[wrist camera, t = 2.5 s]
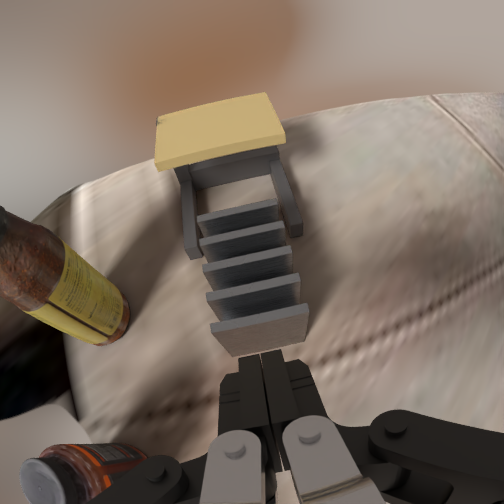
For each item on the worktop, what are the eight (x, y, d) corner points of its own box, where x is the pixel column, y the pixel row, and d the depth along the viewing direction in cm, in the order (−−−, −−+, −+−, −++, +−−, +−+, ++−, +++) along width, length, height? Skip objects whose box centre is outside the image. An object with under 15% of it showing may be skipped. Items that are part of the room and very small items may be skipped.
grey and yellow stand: (277, 165, 35) (271, 91, 26) (302, 235, 29) (304, 157, 21) (183, 185, 35) (156, 117, 26) (189, 260, 29) (151, 191, 21)
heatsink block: (279, 250, 29) (275, 198, 23) (304, 341, 24) (309, 311, 18) (217, 264, 29) (196, 216, 23) (232, 357, 24) (211, 332, 18)
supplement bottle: (95, 442, 21) (3, 435, 11) (152, 441, 21) (67, 444, 11) (106, 500, 18) (19, 519, 8) (165, 504, 18) (89, 541, 8)
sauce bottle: (117, 278, 29) (-8, 131, 12) (144, 324, 27) (-15, 176, 10) (72, 314, 28) (-70, 197, 11) (93, 363, 25) (-84, 259, 8)
